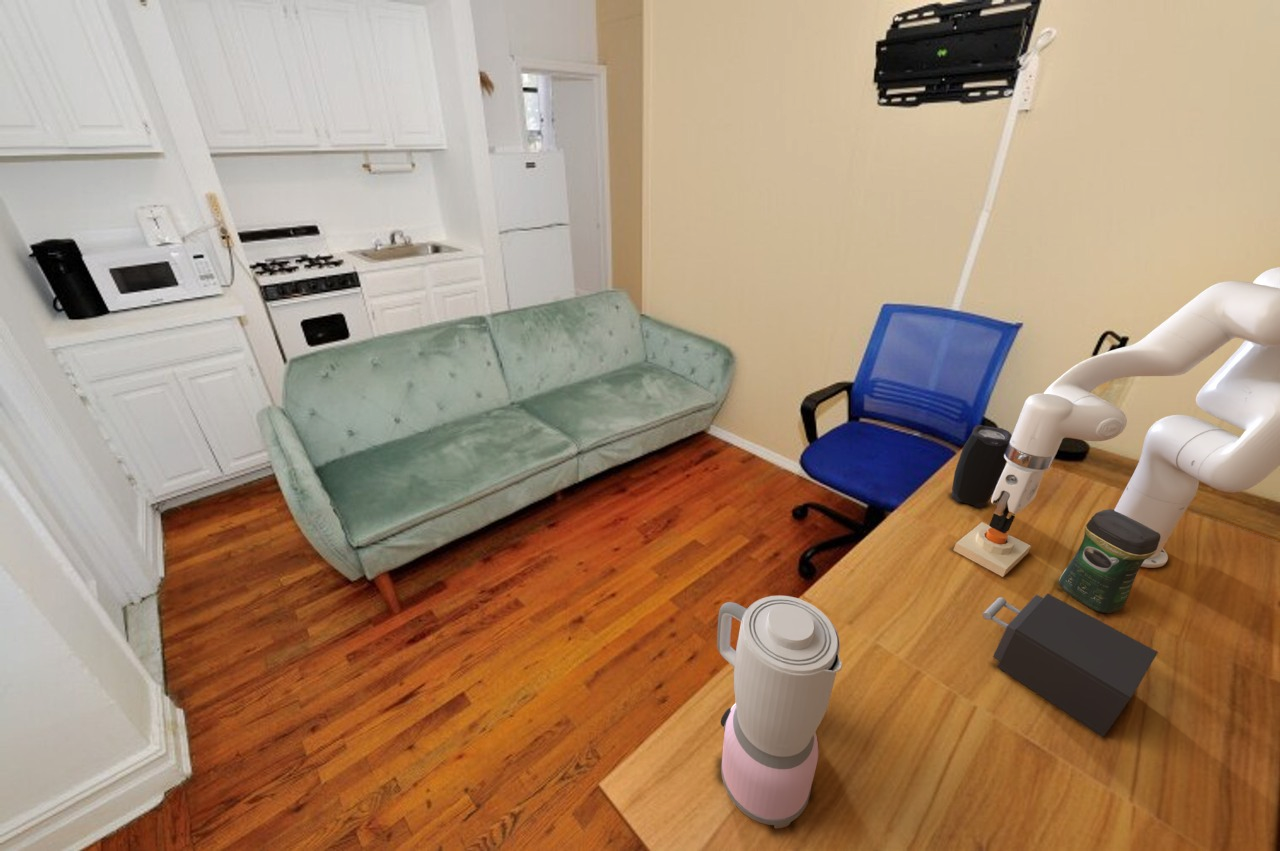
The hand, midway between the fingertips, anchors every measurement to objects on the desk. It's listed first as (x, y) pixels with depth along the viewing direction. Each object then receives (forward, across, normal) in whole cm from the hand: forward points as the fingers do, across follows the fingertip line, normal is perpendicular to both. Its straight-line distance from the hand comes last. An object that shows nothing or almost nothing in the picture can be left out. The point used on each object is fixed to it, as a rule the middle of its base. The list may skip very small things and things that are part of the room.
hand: (998, 528), depth 108 cm
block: (+7, 0, 0) cm, 7 cm away
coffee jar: (+7, +2, -17) cm, 19 cm away
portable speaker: (+7, +16, +12) cm, 21 cm away
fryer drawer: (+6, -23, -17) cm, 29 cm away
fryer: (+7, -23, -21) cm, 32 cm away
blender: (+7, -75, -1) cm, 75 cm away
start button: (+3, 0, 0) cm, 3 cm away
